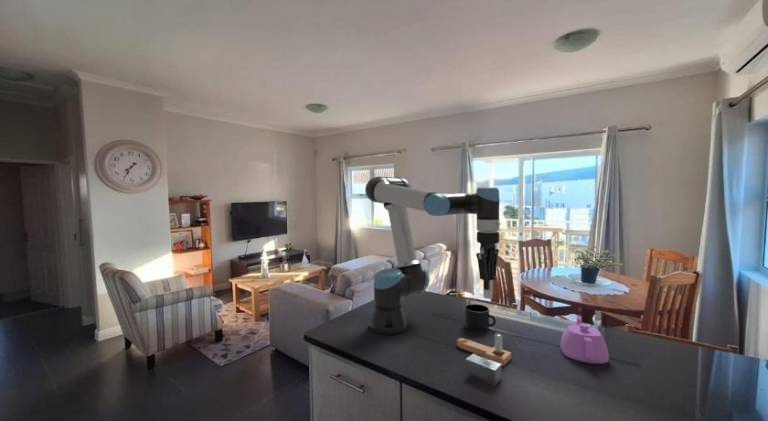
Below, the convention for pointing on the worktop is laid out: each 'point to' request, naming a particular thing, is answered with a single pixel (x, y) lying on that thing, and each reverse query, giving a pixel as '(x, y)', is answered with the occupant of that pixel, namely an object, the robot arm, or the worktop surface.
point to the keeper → (487, 367)
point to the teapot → (584, 343)
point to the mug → (477, 318)
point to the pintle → (498, 344)
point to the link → (484, 351)
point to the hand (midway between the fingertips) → (488, 297)
